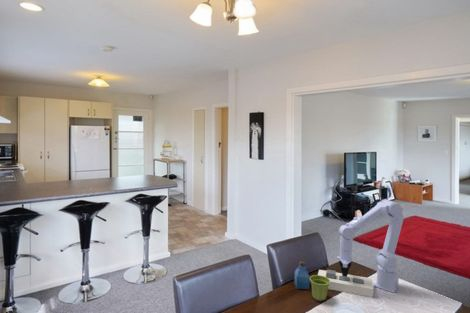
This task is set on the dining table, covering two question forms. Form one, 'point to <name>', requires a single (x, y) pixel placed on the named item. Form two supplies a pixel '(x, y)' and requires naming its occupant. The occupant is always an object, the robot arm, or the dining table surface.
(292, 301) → the dining table surface
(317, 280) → the plant pot
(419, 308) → the dining table surface
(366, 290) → the button panel
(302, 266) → the perfume bottle
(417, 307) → the dining table surface
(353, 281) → the button
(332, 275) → the button
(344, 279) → the button middle
